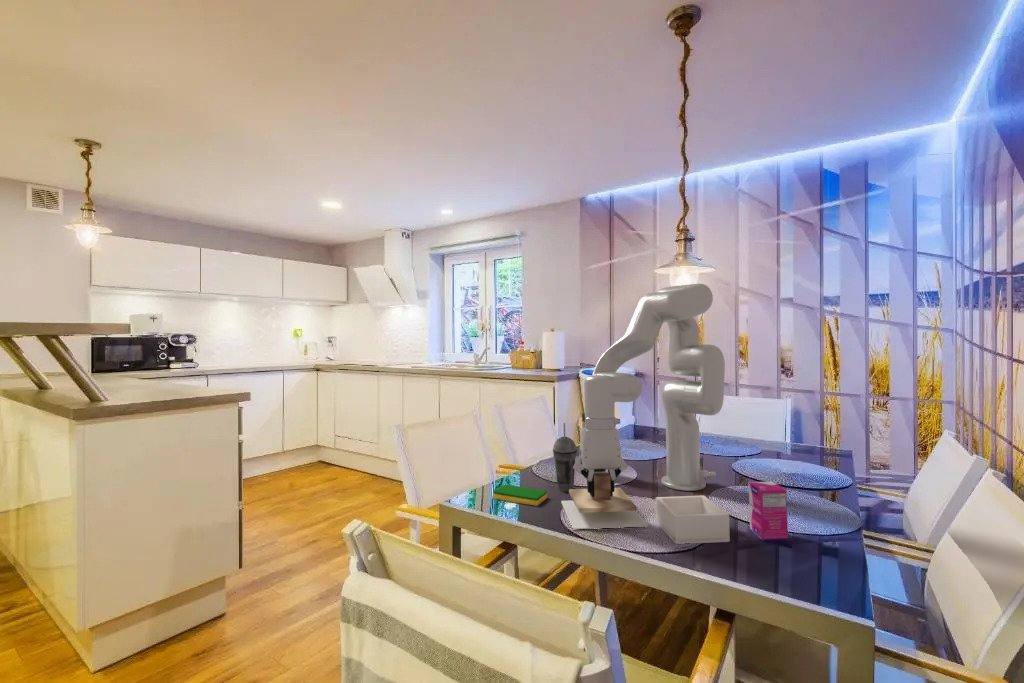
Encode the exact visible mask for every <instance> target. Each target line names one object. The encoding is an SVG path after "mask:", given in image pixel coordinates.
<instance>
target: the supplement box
mask: <svg viewBox="0 0 1024 683" xmlns="http://www.w3.org/2000/svg"><path fill="white" fill-rule="evenodd" d="M787 494H788V493H787V489H785V488H784V487H782V486H781V485H779V484H778V483H776V482H774V481H771V480H770V481H749V482H748V497H749V498H748V502H749V503H748V504H749V506H748V508H749V531H750V532H752V533H753V534H754V535H755V536H757V537H758V538H759V540H761V541H762V542H788V541H789V531H788V530H789V529H788V504H787V503H788V502H787V501H788V500H787Z"/></svg>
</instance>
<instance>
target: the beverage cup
mask: <svg viewBox="0 0 1024 683" xmlns="http://www.w3.org/2000/svg"><path fill="white" fill-rule="evenodd" d="M552 452H553V453H552V454H553V458H554V465H555V466H554V467H555V473H556V484H557V489H558V491H560V492H569V489H574V483H575V471H576V470H574V468H573V466H574V464H575V463H576V458H577V452H578V449H577V445H576V443H575V441H574V440H573V439H572V438H570V437H567V436H566V422H563V436H561V437H559V438H557V439H556V441H555V442H554V444H553V447H552Z"/></svg>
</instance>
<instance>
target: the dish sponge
mask: <svg viewBox="0 0 1024 683" xmlns="http://www.w3.org/2000/svg"><path fill="white" fill-rule="evenodd" d="M493 499H495V500H501V501H506V502H511V503H512V502H513V503H517V504H524V505H530V506H535V507H537V506H539V505H540V504H541V503H543V502H544V501H545V500H546V499H548V491H547V490H545V489H544V490H543V489H536V488H531V487H525V486H524V487H523V486H516V485H513V484H512V485H511V484H503V485H502V486H500V487H499V488H496V489H495V490H494V491H493Z"/></svg>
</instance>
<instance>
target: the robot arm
mask: <svg viewBox="0 0 1024 683" xmlns="http://www.w3.org/2000/svg"><path fill="white" fill-rule="evenodd" d="M713 300H714V295H713V291H712V290H711V288H710V287H709V286H708V285H706V284H704V283H692V284H691V283H690V284H682V285H674V286H673V285H672V286H665V287H662V288H660V289H658V290H657V291H655V292H650V293H646V294H644V295H642V296H641V297H640V298H639V299H638V302H637V303H636V306H635V309H634V311H633V313H632V315H631V318H630V320H629V322H628V325H627V326H626V330H625V332H624V334H623V335H622V336H621V337H620V338H619V339H618V340H617V341H615V342H614V343H613V344H612V345H611V346H610V347H609V348H607V349H606V351H605V352H604V353H603V354H602V355H601V356H600V358H599V359H598V361H597V363H596V364H595V368H594V369H593V372H592V375H591V374H590V375H588V376H586V377H585V378H584V381H583V382H584V414H585V428H582V427H581V432H580V439H579V454H578V455H579V456H578V458H577V459H576V460H575V464H574V466H573V468H574V470H575V471H576V472H577V473H579V474H581V475H582V476H583V477H584V478H585V479H586V489H587V491H588V493H590V495H591V497H594V481H593V473H594V469H606V470H607V473H608V474H609V475H610V485H611V496H613V492H614V488H615V481H616V480H617V478H618V477H619V475H621V473H622V472H624V471H625V470H627V469H628V467H629V466H628V465H627V463H626V461H625V460H624V459H623V457H622V451H621V450H622V449H621V442H620V435H619V431H618V430H619V429H618V428H617V427H616V426H617V425H620V424H621V419H620V418H617V417H616V416H615V415H616V412H615V411H616V410H615V403H631V402H635V401H636V400H637V399H639V398H640V396H641V395H642V392H643V383H642V381H641V379H640V378H639V377H638V376H636V375H634V374H631V373H624V372H617V371H618V370H619V368H620V367H622V366H623V365H624V364H626V362H629V361H630V360H633V359H635V358H638V357H639V356H642V355H644V354H646V353H648V352H650V351H652V349H653V348H654V346H655V343H656V341H657V338H658V336H659V333H660V332H661V331H660V330H661V329H662V325H663V324H664V323H667V327H668V331H669V341H668V342H669V343H668V367H669V368H668V369H669V370H670V371H671V373H673V374H675V375H677V376H684V377H685V376H686V377H699V378H700V381H697V380H685V379H673V380H670V381H668V382H667V383H665V384H664V385H663V387H662V390H661V399H662V405H663V409H664V416H665V417H664V418H665V441H666V442H665V450H666V451H665V452H666V454H665V455H666V456H665V457H666V475H664V476H662V477H661V484H662V486H665V487H667V488H670V489H673V490H677V491H685V492H686V491H687V492H689V491H690V492H691V491H692V492H693V491H700V490H703V489H705V488H706V487H707V485H706V484H707V482H706V481H705V480H707V479H709V480H710V479H717V473H716V471H708V470H706V469H705V470H702V469H701V460H700V459H701V455H700V454H701V450H700V449H701V448H700V445H701V444H700V443H701V442H700V425H699V421H698V420H697V418H696V416H695V415H701V416H702V415H703V416H715V415H718V414H719V413H720V412H721V411H722V408H723V405H724V398H725V396H724V395H725V374H726V371H725V370H726V369H725V368H726V365H725V364H726V362H725V356H724V353H723V352H722V350H721V348H719V347H718V346H716V345H714V344H707V343H706V344H704V343H703V344H700V328H699V324H698V323H697V321H696V319H695V318H694V317H698V316H701V315H703V314H705V313H706V312H707V311H709V310H710V308H711V306H712V304H713ZM581 466H582V467H581ZM584 468H585V469H587V470H586V471H585V470H584Z"/></svg>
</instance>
